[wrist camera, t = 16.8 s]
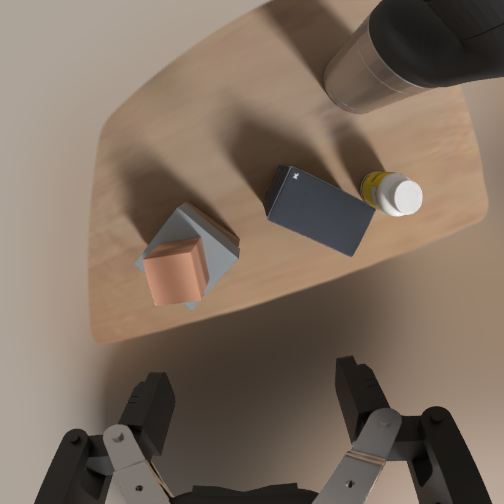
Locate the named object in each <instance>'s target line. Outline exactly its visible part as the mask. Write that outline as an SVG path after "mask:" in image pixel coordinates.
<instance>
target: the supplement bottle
mask: <svg viewBox="0 0 504 504" xmlns="http://www.w3.org/2000/svg"><path fill="white" fill-rule="evenodd" d="M360 191H361V196H362V199H363V200H364V202H365V203H367V204H369V205H370V206H372V207H374V208H375V209H377V210H379V211H382V212H384V213H387V214H389V215H392V216H402V215H405V214H413V213H415V212H416V211H417V210H418V209H419V207H420V206H421V203H422V191H421V189H420V187H419V185H418V184H417V183H416V182H414V181H412V180H410V179H409V178H408V177H407V176H406V175H404V174H401V173H394V172H382V171H374V172H371V173H369V174H367V175H366V176H365V177H364V179H363V181H362V183H361V188H360Z"/></svg>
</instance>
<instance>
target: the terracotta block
mask: <svg viewBox="0 0 504 504" xmlns="http://www.w3.org/2000/svg"><path fill="white" fill-rule="evenodd" d="M142 261H143V265H144V268H145V272H146V276H147V279H148V283H149V287H150V290H151V293H152V297H153V300H154V304H155V306H158V305H168V304H177V303H186V302H195V301H202V298H203V295H204V293H205V290H206V287H207V284H208V282H209V279H210V277H209V272H208V268H207V263H206V258H205V253H204V248H203V243H202V238H201V237H197V238H191V239H185V240H179V241H173V242H167V243H161V244H159V245H158V246H157V247H156V248H155V249H153V250H152V251H151V252H150V253H149V254H148V255H147V256H146V257H145V258H144V259H143V260H142Z"/></svg>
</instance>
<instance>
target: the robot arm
mask: <svg viewBox="0 0 504 504" xmlns="http://www.w3.org/2000/svg"><path fill="white" fill-rule="evenodd" d="M499 77H504V0H382V1H381V2H380V3H379V4H378V5H377V6H376V7H375V9H374V10H373V11H372V12H371V13H370V14H369V15H368V17H367V18H366V19H365V20H364V21H363V23H362V24H361V25H360V26H359V27H358V28H357V30H356V31H355V32H354V33H353V34H352V35H351V37H350V38H349V39H348V40H347V41H346V43H345V44H344V45H343V46H342V47H341V49H340V50H339V51H338V52H337V53H336V55H335V56H334V57H333V58H332V59H331V61H330V62H329V63H328V64H327V66H326V68H325V70H324V74H323V83H324V87H325V90H326V92H327V94H328V95H329V97H330V98H331V100H332V101H333V102H334V103H335V104H336V105H337V106H339V107H340V108H342V109H344V110H346V111H348V112H351V113H357V114H363V113H368V112H370V111H373V110H376V109H378V108H381V107H384V106H386V105H389V104H392V103H394V102H397V101H400V100H403V99H405V98H408V97H411V96H414V95H417V94H419V93H422V92H425V91H428V90H431V89H434V88H437V87H449V86H454V85H458V84H462V83H466V82H471V81H477V80H484V79H491V78H499ZM335 389H336V394H337V397H338V400H339V404H340V407H341V410H342V414H343V417H344V420H345V423H346V427H347V430H348V434H349V437H350V441H351V444H352V445H354V446H353V447H352V449H351V450H350V452H349V451H348V452H347V453H346V454H345V456H344V457H343V459H342V460H341V462H340V464H339V465H338V467H337V468H336V470H335V471H334V473H333V475H332V476H331V477H330V479H329V480H328V482H327V483H326V485H325V486H324V488H323V489H322V490H321V492H320V493H317V492H314V491H311V490H306V489H298V487H297V483H290V484H280V485H270V486H266V487H263V488H259V489H255V490H251V491H246V492H240V491H236V490H231V489H226V488H221V487H214V486H193V490H192V492H187V493H184V494H181V495H178V496H176V497H174V496H173V495H172V493H171V492H170V491H169V489H168V488H167V486H166V485H165V483H164V481H163V480H162V478H161V477H160V475H159V473H158V472H157V470H156V468H155V467H154V465H153V463H152V462H151V459H152V455H155V456H161V453H162V450H163V447H164V443H165V439H166V436H167V432H168V429H169V425H170V422H171V418H172V415H173V411H174V408H175V402H176V401H175V394H174V392H173V389H172V386H171V384H170V381H169V379H168V376H167V374H166V373H165V372H150V373H149V374H148V376H147V379H146V381H145V382H140V383H139V384H138V385H137V386H136V387H135V388H134V390H133V392H132V394H131V397H130V399H129V401H128V403H127V405H126V407H125V410H124V412H123V414H122V416H121V419H120V420H119V423H118V425H114V426H111V427H109V428H108V429H107V430H106V431H105V432H104V434H103V435H95V436H88V435H87V433H86V432H85V431H84V430H82V429H73V430H70V431H68V432H67V433H66V434H65V435H64V437H63V439H62V441H61V443H60V445H59V448H58V450H57V452H56V454H55V456H54V458H53V460H52V463H51V465H50V467H49V469H48V472H47V474H46V476H45V479H44V481H43V483H42V486H41V488H40V491H39V493H38V495H37V498H36V500H35V503H34V504H105V500H106V496H107V492H108V489H109V486H110V482H111V479H112V476H113V475H114V477H115V480H116V482H117V484H118V486H119V489H120V491H121V493H122V495H123V497H124V499H125V501H126V504H364V503H365V501H366V500H367V498H368V496H369V494H370V492H371V490H372V488H373V486H374V485H375V483H376V481H377V479H378V477H379V475H380V473H381V471H382V469H383V467H384V465H385V463H386V461H407V464H408V467H409V470H410V473H411V477H412V480H413V483H414V487H415V490H416V493H417V497H418V500H419V504H492V502H491V500H490V497H489V495H488V492H487V490H486V487H485V485H484V482H483V481H482V478H481V475H480V473H479V471H478V469H477V466H476V464H475V462H474V460H473V458H472V456H471V453H470V451H469V449H468V447H467V445H466V443H465V441H464V439H463V437H462V435H461V433H460V431H459V429H458V427H457V425H456V423H455V421H454V419H453V418H452V416H451V414H450V412H449V411H448V410H447V409H445V408H443V407H439V406H435V407H430V408H428V409H426V410H425V411H424V412H423V413H422V415H421V416H402V415H400V414H399V413H398V412H397V411H395V410H394V409H391V408H390V406H389V404H388V402H387V400H386V397H385V395H384V393H383V391H382V389H381V387H380V385H379V383H378V381H377V379H376V378H375V375H374V373H373V371H372V369H370V368H369V367H368V366H367V365H365V364H360V365H357V364H356V362H355V360H354V357H353V356H352V355H351V356H345V357H340V358H337V359H336V372H335Z"/></svg>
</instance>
